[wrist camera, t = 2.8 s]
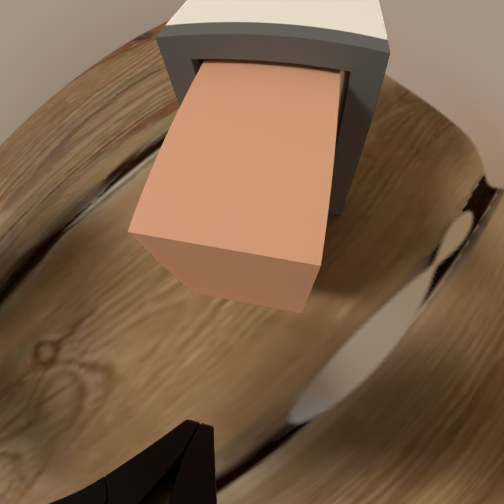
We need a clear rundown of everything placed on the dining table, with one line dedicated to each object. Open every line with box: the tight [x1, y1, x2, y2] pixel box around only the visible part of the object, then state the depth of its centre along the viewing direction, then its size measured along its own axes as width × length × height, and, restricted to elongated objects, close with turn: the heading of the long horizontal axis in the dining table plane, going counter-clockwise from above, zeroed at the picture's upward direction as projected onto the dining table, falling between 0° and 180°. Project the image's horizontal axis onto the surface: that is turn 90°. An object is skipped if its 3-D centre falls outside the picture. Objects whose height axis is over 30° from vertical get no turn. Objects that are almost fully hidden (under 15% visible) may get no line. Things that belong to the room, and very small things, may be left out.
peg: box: [128, 59, 340, 313], centre depth 11 cm, size 9×4×6 cm, turn 168°
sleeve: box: [156, 0, 390, 215], centre depth 13 cm, size 7×7×10 cm
